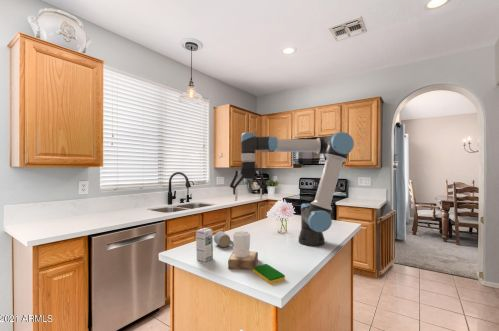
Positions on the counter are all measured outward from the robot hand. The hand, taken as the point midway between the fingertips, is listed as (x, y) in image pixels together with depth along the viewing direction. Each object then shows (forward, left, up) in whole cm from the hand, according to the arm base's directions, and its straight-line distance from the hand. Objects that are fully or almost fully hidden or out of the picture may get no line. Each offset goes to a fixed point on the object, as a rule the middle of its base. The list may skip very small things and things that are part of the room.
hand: (248, 200), depth 133 cm
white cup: (+1, +19, -23) cm, 30 cm away
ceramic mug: (+15, -7, -27) cm, 32 cm away
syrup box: (+20, +15, -27) cm, 37 cm away
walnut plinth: (0, +19, -27) cm, 33 cm away
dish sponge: (-12, +30, -27) cm, 42 cm away
